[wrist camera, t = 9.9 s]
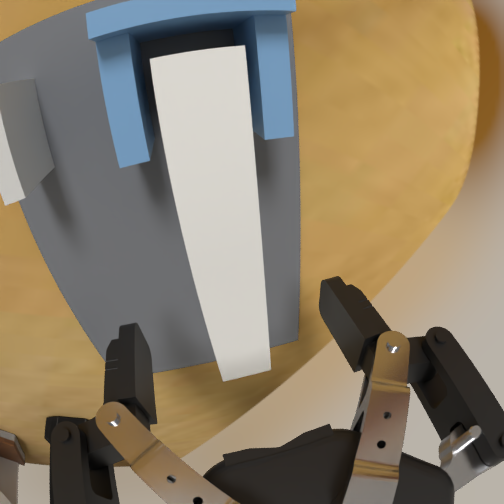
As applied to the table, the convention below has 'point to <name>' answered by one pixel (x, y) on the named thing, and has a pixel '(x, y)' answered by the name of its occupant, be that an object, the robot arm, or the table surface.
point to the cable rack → (142, 162)
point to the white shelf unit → (9, 467)
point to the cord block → (217, 197)
